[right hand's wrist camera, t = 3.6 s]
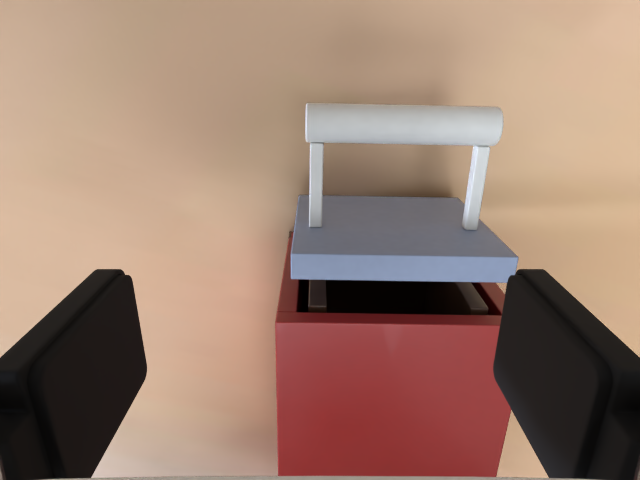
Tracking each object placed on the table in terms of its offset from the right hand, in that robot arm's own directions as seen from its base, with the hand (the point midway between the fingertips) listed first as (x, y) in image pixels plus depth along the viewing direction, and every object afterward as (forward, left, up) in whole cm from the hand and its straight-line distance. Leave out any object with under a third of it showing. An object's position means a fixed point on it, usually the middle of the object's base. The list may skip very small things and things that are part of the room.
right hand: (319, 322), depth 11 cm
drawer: (+6, +7, -16) cm, 18 cm away
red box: (+12, +9, -17) cm, 23 cm away
